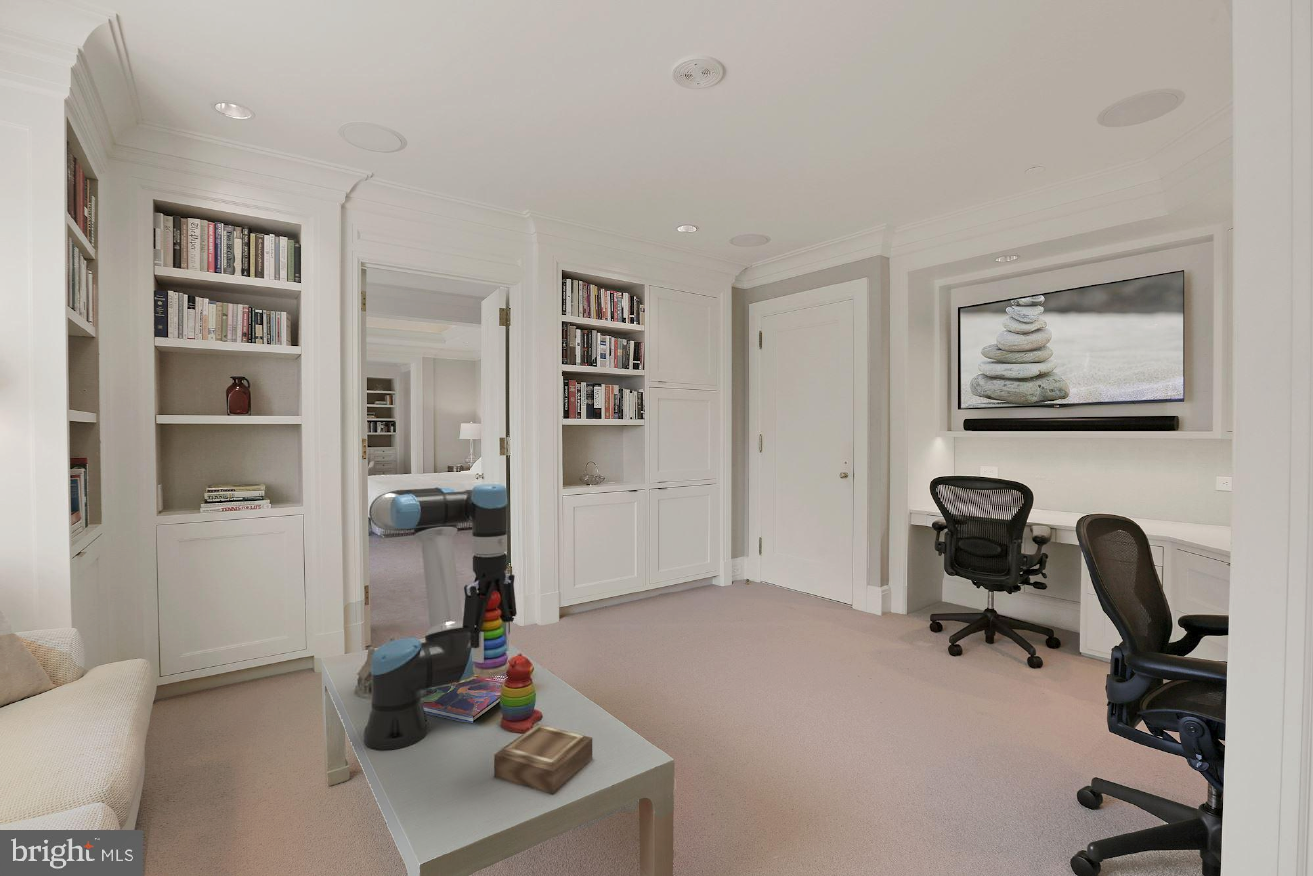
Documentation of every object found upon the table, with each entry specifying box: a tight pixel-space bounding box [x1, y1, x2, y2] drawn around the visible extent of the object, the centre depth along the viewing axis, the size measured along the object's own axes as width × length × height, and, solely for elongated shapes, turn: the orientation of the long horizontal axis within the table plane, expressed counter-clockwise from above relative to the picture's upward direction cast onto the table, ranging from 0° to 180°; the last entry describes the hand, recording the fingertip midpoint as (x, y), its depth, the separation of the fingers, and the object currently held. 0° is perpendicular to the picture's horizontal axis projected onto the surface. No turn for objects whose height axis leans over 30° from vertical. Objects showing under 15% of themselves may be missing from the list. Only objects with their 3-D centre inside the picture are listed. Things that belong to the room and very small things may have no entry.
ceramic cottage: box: [354, 636, 395, 700], centre depth 185 cm, size 16×16×15 cm
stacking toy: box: [473, 591, 509, 678], centre depth 139 cm, size 8×8×19 cm
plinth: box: [493, 723, 593, 795], centre depth 144 cm, size 16×16×6 cm
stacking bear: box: [499, 652, 543, 734], centre depth 166 cm, size 11×10×18 cm
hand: (490, 655), depth 139 cm, fingers closed on stacking toy, 7 cm apart
